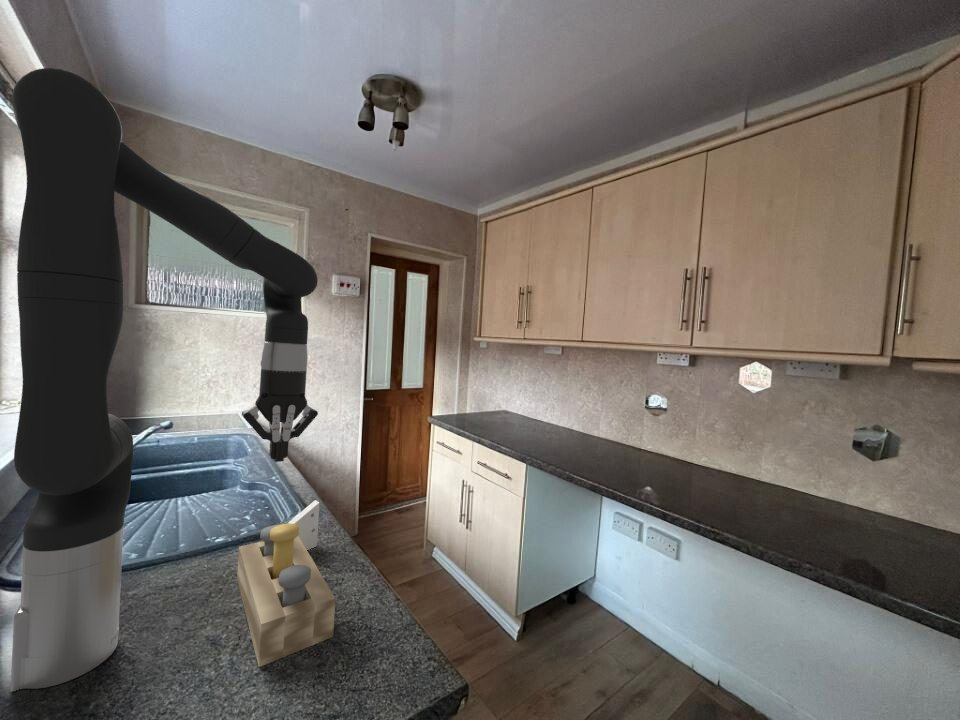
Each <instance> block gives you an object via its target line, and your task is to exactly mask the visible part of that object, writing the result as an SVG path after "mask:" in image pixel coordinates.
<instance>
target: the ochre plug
mask: <svg viewBox="0 0 960 720" xmlns="http://www.w3.org/2000/svg"><path fill="white" fill-rule="evenodd" d="M277 525H278V526H275V527H273V528H272V529H271V530H270V539H271V540H272V541H274V555H273V572H272V580H273V579H276V578H279V574H280V572H281V571H283V570H284V569H286V568H288V567H290V566H293V549H294V538H296V537H297V536H298V535H299V526H298V525H296V524H288V523H283V524H282V523H281V524H277Z"/></svg>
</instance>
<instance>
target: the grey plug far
mask: <svg viewBox="0 0 960 720" xmlns="http://www.w3.org/2000/svg"><path fill="white" fill-rule="evenodd" d="M278 525H279V524H274V525H273V524H272V525H270V526H266V527H264V528H263V529H261V531H260V537H259V538H260V540H261V541H264V557H265V556H269V555H273V554H274V541H272V540H271V539H270V530H271V529H272V528H273V527H275V526H278Z"/></svg>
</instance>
